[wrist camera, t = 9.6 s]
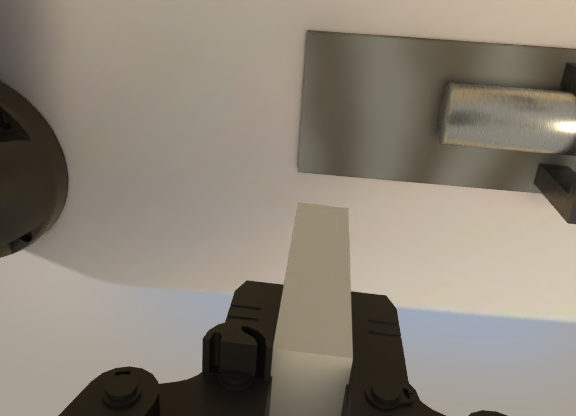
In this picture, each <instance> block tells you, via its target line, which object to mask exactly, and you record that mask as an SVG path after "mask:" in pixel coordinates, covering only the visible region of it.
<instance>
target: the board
mask: <svg viewBox="0 0 576 416" xmlns="http://www.w3.org/2000/svg"><path fill="white" fill-rule="evenodd" d="M566 62H570V63H576V49H569V48H555V47H541V46H526V45H512V44H498V43H483V42H469V41H455V40H440V39H426V38H411V37H397V36H383V35H368V34H354V33H340V32H325V31H311V30H308V31H307V39H306V54H305V68H304V83H303V98H302V113H301V128H300V143H299V158H298V172H302V173H313V174H325V175H336V176H348V177H359V178H371V179H382V180H393V181H405V182H416V183H428V184H439V185H451V186H462V187H474V188H485V189H496V190H508V191H519V192H531V193H542V192H541V191H540V190H539V189H538V188H537V187H536V185H535V184H534V179H535V175H536V172H537V168H538V165H539V163H540V164H552V165H564V166H569V167H570V168H571V169H572V170H573V171H574V172H575V171H576V156H570V155H558V154H546V153H534V152H523V151H511V150H499V149H487V148H475V147H463V146H451V145H441V144H439V141H438V116H439V109H440V103H441V99H442V95H443V92H444V89H445V87H446V85H447V84H448V83H461V84H474V85H488V86H501V87H514V88H527V89H540V90H553V91H567V92H571V91H569V90H567V89H566V88H564V87H562V86H560V84H561V81H562V77H563V73H564V70H565V66H566Z"/></svg>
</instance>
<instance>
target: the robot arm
mask: <svg viewBox="0 0 576 416" xmlns="http://www.w3.org/2000/svg"><path fill="white" fill-rule="evenodd" d="M67 187H68V178H67V169H66V164H65V160H64V156H63V153H62V150H61V148H60V145H59V143H58V141H57V139H56V137H55V135H54V134H53V132H52V130H51V129H50V127H49V125H48V124H47V123H46V121H45V120H44V119H43V117H42V116H41V115H40V114H39V112H38V111H37V110H36V109H35V108H34V107H33V106H32V105H31V104H30V103H29V102H28V101H27V100H25V99H24V98H23V97H22V96H21V95H19V94H18V93H17V92H15V91H14V90H13V89H11V88H10V87H8V86H6V85H5V84H3V83H1V82H0V258H1V257H4V256H7V255H10V254H13V253H16V252H18V251H20V250H22V249H24V248H26V247H28V246H29V245H31V244H32V243H33V242H35V241H36V240H37V239H38V238H39V237H40V236H42V235H43V234H44V233H45V232H46V231H47V230H48V229H49V228H50V227H51V226H52V225H53V224H54V223H55V222H56V220H57V219H58V217H59V215H60V214H61V211H62V209H63V207H64V204H65V200H66V196H67ZM59 416H445V415H443V414H441V413H439V412H436V411H434V410H432V409H431V408H429V407H428V406H426V405H425V404H424V403H422V402H421V401H420V399H419V397H418V395H417V392H416V390H415V389H414V388H413V387H412V386H411V385H410V384H409V382H408V377H407V371H406V365H405V358H404V352H403V346H402V340H401V333H400V327H399V322H398V315H397V309H396V308H395V306H394V305H393V304H392V302H391V301H390V300H389V299H388V297H387V296H385V295H376V294H368V293H360V292H351V282H350V251H349V219H348V208H339V207H330V206H321V205H312V204H303V203H298V207H297V212H296V218H295V224H294V229H293V235H292V241H291V247H290V252H289V258H288V264H287V270H286V275H285V281H284V285H281V284H272V283H264V282H255V281H246V282H245V283H243V284H242V285H241V286H240V287H239V288H238V289H237V290H236V291H235V293H234V296H233V299H232V302H231V307H230V308H229V312H228V315H227V318H226V321H225V323H222V324H219V325H217V326H215V327H214V328H212V329H210V330H209V331H208V332H207V334H206V335H205V336H204V338H203V360H202V373H200V374H199V375H197V376H195V377H192V378H190V379H188V380H183V381H178V382H171V383H163V384H158V381H157V380H156V378H155V377H154V376H153V374H151V373H149V372H148V371H146V370H144V369H142V368H135V367H121V368H115V369H112V370H110V371H107V372H104V373H102V374H101V375H99V376H98V377H97V378H95V379H94V380H93V381H91V382H90V383H89V385H88V386H87V387H86V388H85V389H84V390H83V391H82V392H81V393H80V394H79V395H78V396H77V397H76V398H75V399H74V400H73V401H72V402H71V403H70V404H69V405H68V406H67V407H66V408H65V410H64V411H63V412H62V413H61V414H60V415H59ZM469 416H507V415H504V414H501V413H499V412H494V411H484V410H482V411H478V412H474V413H471V414H470V415H469Z"/></svg>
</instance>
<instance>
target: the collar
mask: <svg viewBox="0 0 576 416" xmlns="http://www.w3.org/2000/svg"><path fill="white" fill-rule="evenodd" d="M560 86H562V87H564V88H566V89H567V90H569V91H571V92H573V93H574V94H576V63H570V62H566V66H565V70H564V73H563V77H562V81H561V84H560ZM534 184H535V185H536V187H537V188H538V189H539V190H540V191H541V192H542V194H543V195H544V196H545V197H546V198H547V199H548V201H549V202H550V203H551V204H552V205H553V206H554V208H555V209H556V210H557V211H558V212H559V214H560V215H561V216H562V217H563V218H564V219H565V221H566V222H567V223H570V224H576V171H575V172H574V171H573V170H572V169H571V168H570V167H569V166H564V165H552V164H540V163H539V165H538V168H537V172H536V175H535V179H534Z"/></svg>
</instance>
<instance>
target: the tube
mask: <svg viewBox="0 0 576 416" xmlns="http://www.w3.org/2000/svg"><path fill="white" fill-rule="evenodd" d="M438 141H439V144H441V145H451V146H463V147H475V148H487V149H499V150H511V151H523V152H534V153H546V154H558V155H570V156H576V94H574V93H573V92H567V91H553V90H540V89H527V88H514V87H501V86H488V85H474V84H461V83H448V84H447V85H446V87H445V89H444V92H443V95H442V99H441V103H440V109H439V116H438Z"/></svg>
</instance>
